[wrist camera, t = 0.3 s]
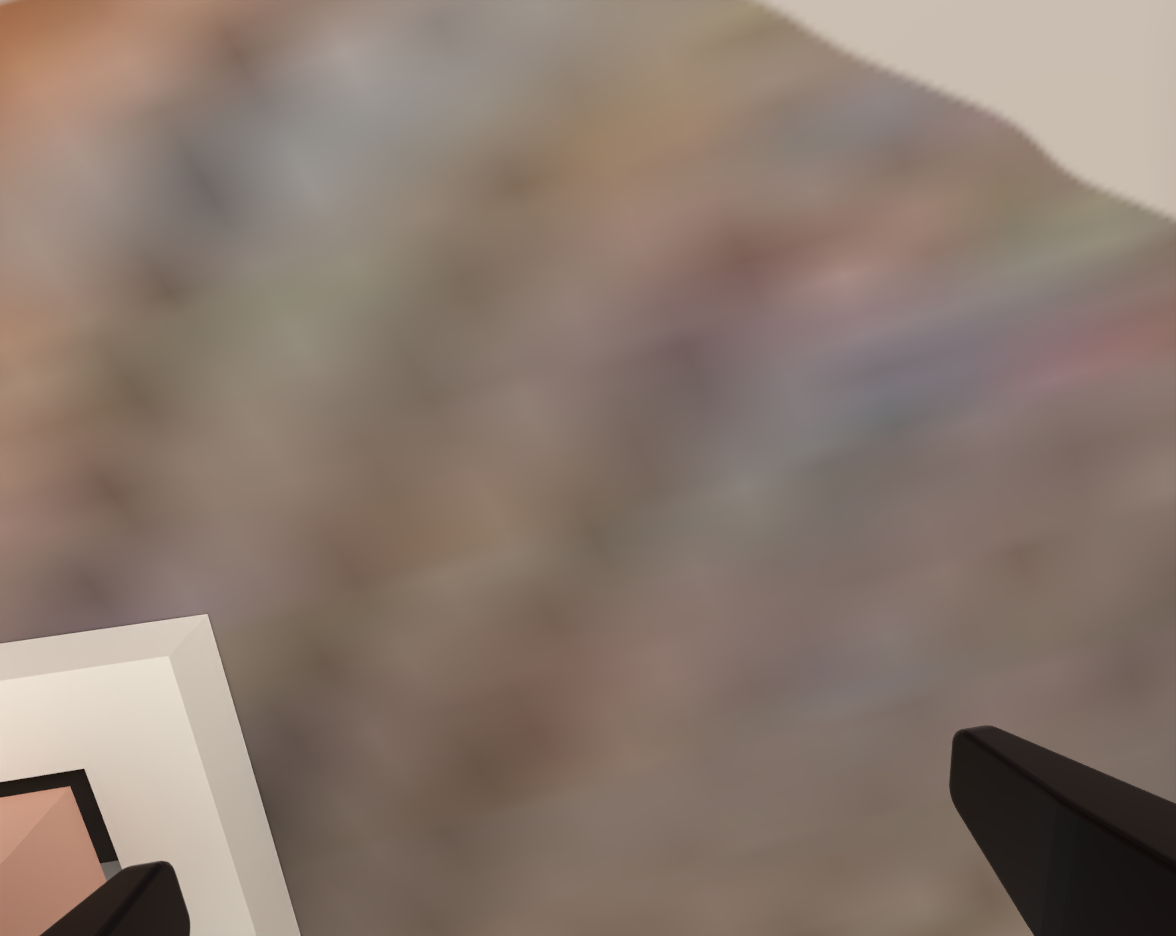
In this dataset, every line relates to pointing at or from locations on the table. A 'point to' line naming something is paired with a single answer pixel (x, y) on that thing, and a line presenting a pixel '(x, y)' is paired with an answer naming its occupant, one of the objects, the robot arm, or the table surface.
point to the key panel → (152, 760)
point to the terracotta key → (43, 861)
